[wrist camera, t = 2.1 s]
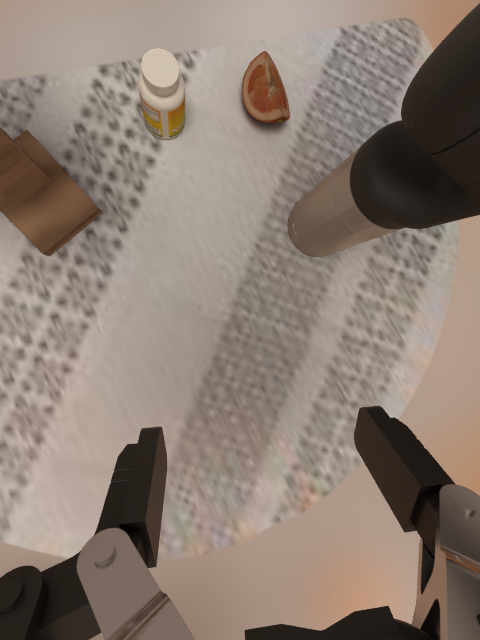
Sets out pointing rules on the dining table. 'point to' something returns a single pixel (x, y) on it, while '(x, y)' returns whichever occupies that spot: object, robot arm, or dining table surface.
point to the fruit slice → (265, 91)
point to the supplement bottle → (162, 94)
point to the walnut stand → (40, 194)
